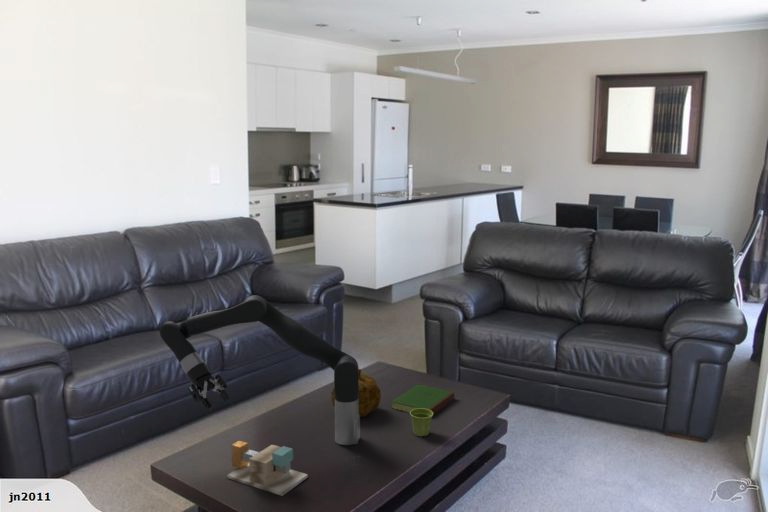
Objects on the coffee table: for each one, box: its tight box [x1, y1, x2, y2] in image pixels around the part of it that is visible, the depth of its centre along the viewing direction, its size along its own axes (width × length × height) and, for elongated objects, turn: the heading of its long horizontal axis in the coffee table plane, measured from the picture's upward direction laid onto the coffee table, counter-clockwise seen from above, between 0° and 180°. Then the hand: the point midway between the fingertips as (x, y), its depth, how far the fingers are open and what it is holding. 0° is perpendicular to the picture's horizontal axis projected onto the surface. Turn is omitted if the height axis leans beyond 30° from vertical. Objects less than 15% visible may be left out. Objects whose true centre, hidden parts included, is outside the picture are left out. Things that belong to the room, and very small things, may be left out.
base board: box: [226, 464, 309, 497], centre depth 220 cm, size 24×14×1 cm, turn 61°
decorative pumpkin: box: [330, 368, 382, 418], centre depth 273 cm, size 20×21×20 cm
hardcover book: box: [391, 384, 455, 416], centre depth 285 cm, size 25×19×4 cm
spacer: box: [272, 445, 294, 467], centre depth 215 cm, size 4×6×4 cm, turn 151°
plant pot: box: [409, 408, 434, 437], centre depth 254 cm, size 9×9×9 cm
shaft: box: [231, 440, 292, 473], centre depth 220 cm, size 23×4×8 cm, turn 61°
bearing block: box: [249, 444, 284, 486], centre depth 219 cm, size 7×12×9 cm, turn 151°
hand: (218, 404), depth 229 cm, fingers open, 8 cm apart
